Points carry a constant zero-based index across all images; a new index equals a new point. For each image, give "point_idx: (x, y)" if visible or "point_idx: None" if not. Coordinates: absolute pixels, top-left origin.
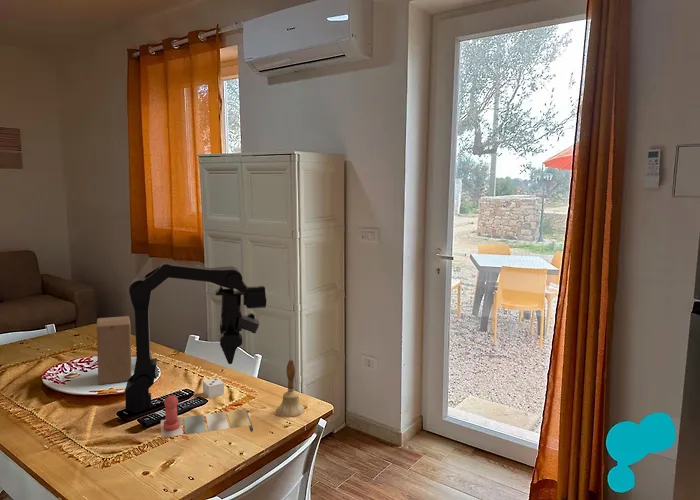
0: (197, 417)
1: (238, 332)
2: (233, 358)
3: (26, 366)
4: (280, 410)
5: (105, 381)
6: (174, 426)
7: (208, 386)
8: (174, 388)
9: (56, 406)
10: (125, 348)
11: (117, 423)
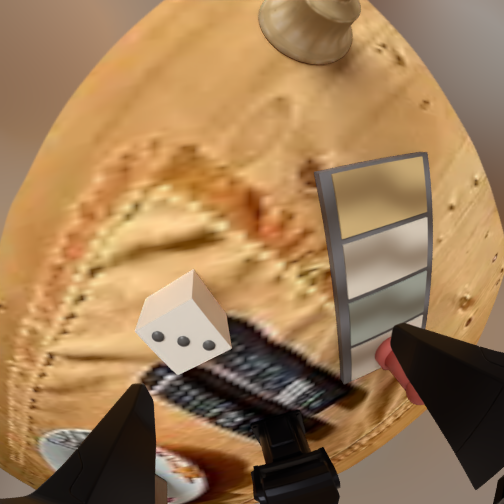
0: (361, 314)
1: None
2: (443, 335)
3: None
4: (334, 52)
5: (161, 482)
6: None
7: (230, 348)
8: None
9: (250, 488)
10: None
11: (324, 428)
